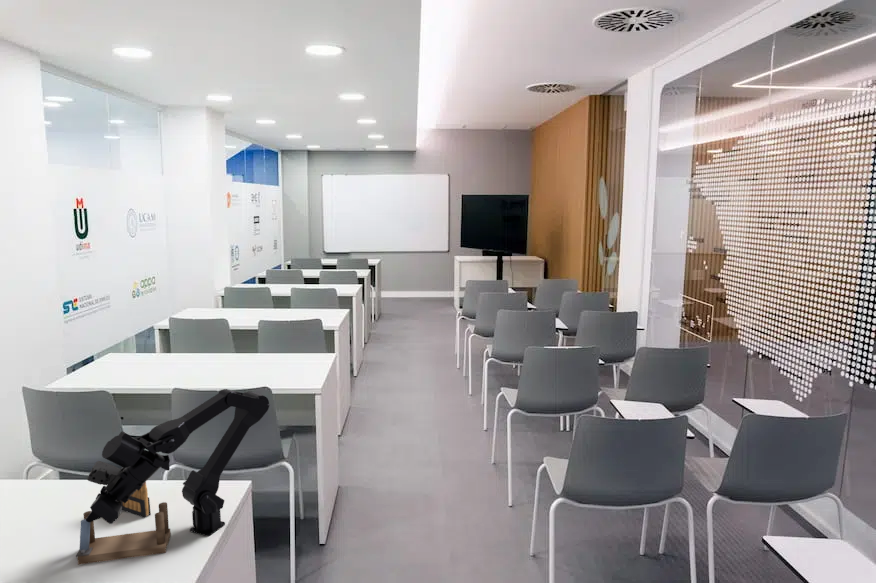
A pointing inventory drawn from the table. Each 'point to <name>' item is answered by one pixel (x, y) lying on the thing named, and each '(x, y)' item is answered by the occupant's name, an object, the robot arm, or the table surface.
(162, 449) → the robot arm
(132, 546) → the stool
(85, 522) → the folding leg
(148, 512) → the ammunition clip
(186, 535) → the table surface
